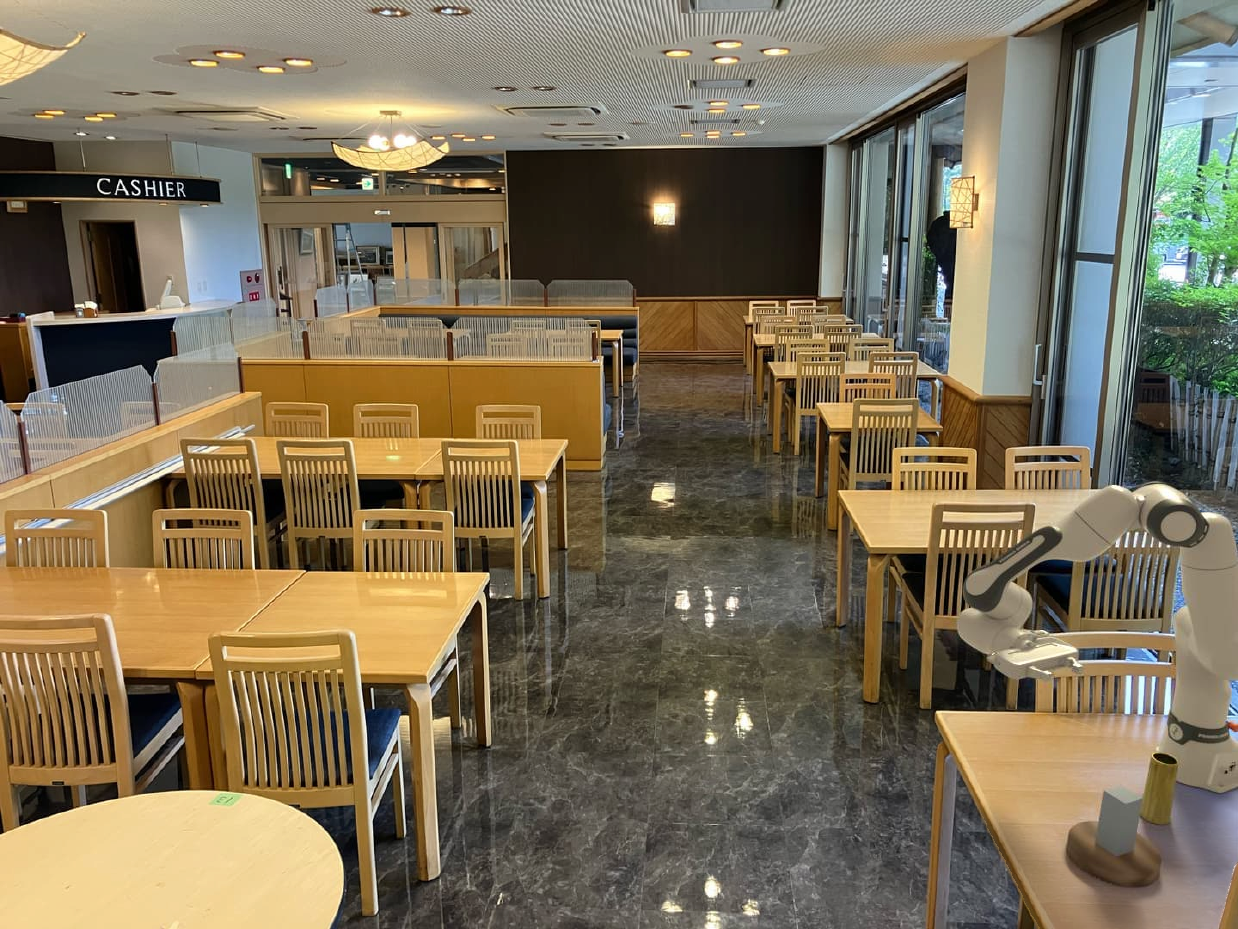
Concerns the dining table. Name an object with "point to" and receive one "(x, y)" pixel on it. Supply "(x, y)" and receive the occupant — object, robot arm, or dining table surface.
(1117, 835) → the gray block
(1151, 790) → the vase
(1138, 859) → the walnut base
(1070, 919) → the dining table surface
